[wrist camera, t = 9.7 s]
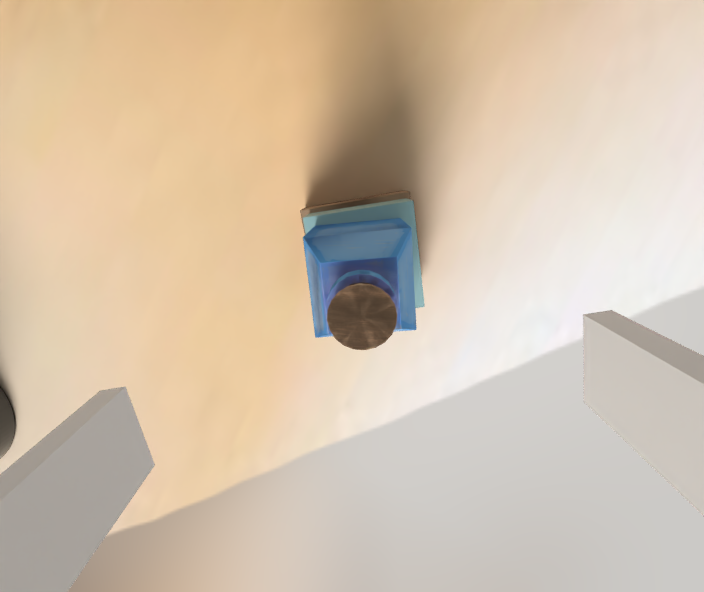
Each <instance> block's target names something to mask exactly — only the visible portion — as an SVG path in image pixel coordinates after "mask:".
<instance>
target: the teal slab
mask: <svg viewBox="0 0 704 592" xmlns="http://www.w3.org/2000/svg"><path fill="white" fill-rule="evenodd" d="M395 218H401V219H402V220H403V221H404V222H406V223H407V224H408V225H409V226H410V227H411V228H412V249H413V270H414V292H415V308H418V307H425V306H424V297H423V287H422V278H421V268H420V259H419V250H418V240H417V231H416V221H415V212H414V202H413V200H410V199H407V198H405V199H398V200H392V201H386V202H379V203H373V204H366V205H360V206H354V207H347V208H341V209H334V210H328V211H322V212H315V213H309V214H307V215H306V216H305V217H303V222H304V228H305V233H306V234H307V233H308V232H309V231H310V230H311V229H312V228H313V227H314V226H317V225H328V224H339V223H350V222H362V221H373V220H384V219H395Z"/></svg>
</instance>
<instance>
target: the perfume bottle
mask: <svg viewBox="0 0 704 592" xmlns="http://www.w3.org/2000/svg"><path fill="white" fill-rule="evenodd" d="M303 241H304V249H305V257H306V265H307V273H308V281H309V289H310V297H311V305H312V313H313V321H314V329H315V337H329V336H334V337H335V339H336V340H338V341H339V342H340V343H341V344H343V345H344V346H347V347H349V348H352V349H357V350H367V349H372V348H376V347H377V346H379V345H381V344H383V343H385V342H386V340H387V339H388V338H389V337H390V336H391V335H392V333H393V332H394V331H407V330H416V313H415V292H414V270H413V249H412V228H411V227H410V226H409V225H408V224H407V223H406V222H404V221H403V220H402V219H401V218H395V219H384V220H373V221H362V222H350V223H339V224H328V225H317V226H314V227H313V228H312V229H311V230H310V231H309V232H308V233H307V234H306V235H305V236H304V237H303Z"/></svg>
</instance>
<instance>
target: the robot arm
mask: <svg viewBox="0 0 704 592" xmlns="http://www.w3.org/2000/svg"><path fill="white" fill-rule="evenodd" d="M583 345H584V346H583V348H584V350H583V355H584V356H583V358H584V359H583V363H584V364H583V365H584V403H585V404H586V405H588V407H590V408H591V409H592V410H593V411H594V412H595V413H596V414H597V415H598V416H599V417H600V418H601V419H602V420H603V421H604V422H605V423H606V424H607V425H609V426H610V427H611V428H612V429H613V430H614V431H615V432H616V433H617V434H618V435H619V436H620V437H621V438H622V439H623V440H624V441H625V442H626V443H627V444H628V445H629V446H630V447H632V448H633V449H634V450H635V451H636V452H637V453H638V454H639V455H640V456H641V457H642V458H643V459H644V460H645V461H646V462H647V463H648V464H650V466H651V467H653V468H654V469H655V470H656V471H657V472H658V473H659V474H660V475H661V476H662V477H663V478H664V479H665V480H666V481H667V482H668V483H669V484H671V486H672V487H674V488H675V489H676V490H677V491H678V492H679V493H680V494H681V495H682V496H683V497H684V498H685V499H686V500H687V501H689V503H690V504H691V505H693V507H695V508H696V509H697V510H698V511H699V512H700V513H701V514H702V515H703V516H704V356H703V355H700V354H699V353H697V352H694V351H692V350H690V349H688V348H686V347H684V346H682V345H680V344H678V343H676V342H674V341H672V340H670V339H668V338H666V337H664V336H662V335H660V334H658V333H656V332H654V331H652V330H650V329H648V328H646V327H644V326H642V325H640V324H638V323H636V322H634V321H632V320H630V319H628V318H626V317H624V316H622V315H620V314H618V313H616V312H614V311H612V310H610V311H604V312H597V313H591V314H585V315H583ZM14 433H15V420H14V415H13V411H12V408H11V405H10V403H9V401H8V399H7V397H6V395H5V394H4V392H3V391H2V389H1V388H0V459H1V458H2V457H3V456H4V455H5V454H6V452H7V451H8V449H9V448H10V446H11V444H12V441H13V438H14ZM154 465H155V464H154V462H153V459H152V456H151V454H150V451H149V448H148V446H147V443H146V440H145V438H144V435H143V432H142V430H141V427H140V424H139V422H138V419H137V416H136V414H135V411H134V408H133V406H132V403H131V400H130V398H129V395H128V392H127V390H126V387H121V388H114V389H108V390H102V391H99V392H98V393H97V394H96V395H95V396H93V397H92V398H91V399H90V400H89V401H87V402H86V403H85V404H84V405H83V406H81V407H80V408H79V409H78V410H77V411H75V412H74V413H73V414H72V415H71V416H69V417H68V418H67V419H66V420H65V421H64V422H62V423H61V424H60V425H59V426H58V427H56V428H55V429H54V430H53V431H52V432H50V433H49V434H48V435H47V436H46V437H44V438H43V439H42V440H41V441H40V442H38V443H37V444H36V445H35V446H34V447H33V448H31V449H30V450H29V451H28V452H27V453H25V454H24V455H23V456H22V457H21V458H19V459H18V460H17V461H16V462H15V463H13V464H12V465H11V466H10V467H9V468H7V469H6V470H5V471H4V472H3V473H2V474H0V592H68V590H69V589H70V587H71V586H72V584H73V583H74V582H75V580H76V579H77V577H78V576H79V574H80V573H81V571H82V570H83V568H84V567H85V566H86V564H87V563H88V561H89V560H90V558H91V557H92V555H93V554H94V553H95V551H96V550H97V548H98V547H99V545H100V544H101V542H102V541H103V539H104V538H105V537H106V535H107V534H108V532H109V531H110V529H111V528H112V526H113V525H114V524H115V522H116V521H117V519H118V518H119V516H120V515H121V513H122V512H123V510H124V509H125V508H126V506H127V505H128V503H129V502H130V500H131V499H132V497H133V496H134V494H135V493H136V492H137V490H138V489H139V487H140V486H141V484H142V483H143V481H144V480H145V479H146V477H147V476H148V474H149V473H150V471H151V470H152V468H153V467H154Z"/></svg>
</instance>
